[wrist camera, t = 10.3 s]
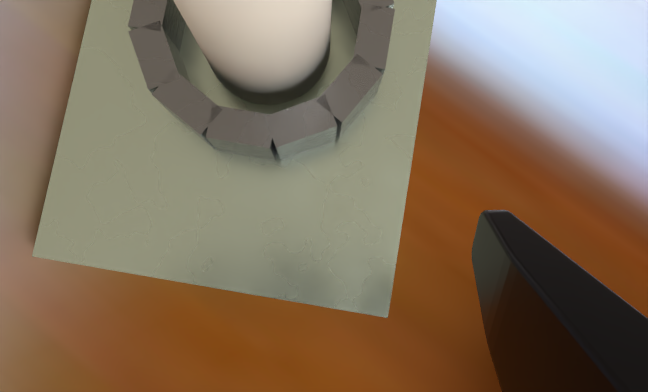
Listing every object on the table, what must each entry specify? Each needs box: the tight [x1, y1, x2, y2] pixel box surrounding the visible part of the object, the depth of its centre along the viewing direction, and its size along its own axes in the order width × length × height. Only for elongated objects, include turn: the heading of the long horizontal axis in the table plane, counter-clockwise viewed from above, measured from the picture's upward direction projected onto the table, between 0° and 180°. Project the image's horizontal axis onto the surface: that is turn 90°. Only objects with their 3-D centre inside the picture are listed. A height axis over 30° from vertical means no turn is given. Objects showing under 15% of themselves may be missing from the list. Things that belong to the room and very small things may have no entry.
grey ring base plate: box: [32, 0, 436, 318], centre depth 21 cm, size 15×14×4 cm
